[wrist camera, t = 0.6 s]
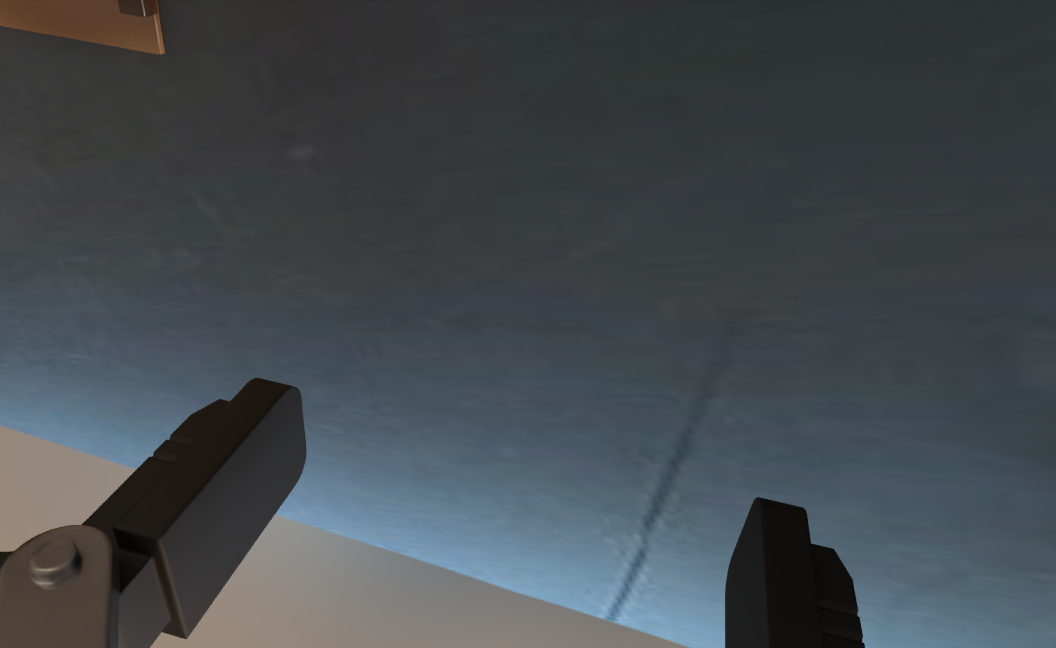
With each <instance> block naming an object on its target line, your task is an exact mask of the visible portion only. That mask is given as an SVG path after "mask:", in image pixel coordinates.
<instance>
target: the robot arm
mask: <svg viewBox="0 0 1056 648" xmlns="http://www.w3.org/2000/svg"><path fill="white" fill-rule="evenodd" d="M305 459H306V440H305V430H304V420H303V410H302V400H301V394H300V391H299V389H298V388H297V387H294V386H290V385H286V384H281V383H277V382H273V381H269V380H264V379H260V378H254V379H252V380H251V381H249V382H248V383H247V384H246V385H245V386H244V387H243V388H242V389H241V390H240V391H239V393H238V394H237V395H236V396H235V397H234V398H233V399H232V400H231V401H226V400H222V399H219V400H217V401H215V402H213V403H212V404H210V405H208V406H206V407H204V408H202V409H201V410H199V411H197V412H195V413H193V414H191V415H190V416H189V417H188V418H187V419H186V420H185V421H184V422H183V423H182V424H181V425H180V426H179V427H178V428H177V429H176V430H175V431H174V432H173V433H172V434H171V437H170V439H169V440H166V441H165V442H164V443H163V444H162V445H161V446H160V447H159V448H158V449H157V450H156V451H155V452H154V455H153V457H149V458H148V459H147V460H146V461H145V462H144V463H143V464H142V465H141V466H140V467H139V468H138V469H137V470H136V471H135V472H134V473H133V474H132V475H131V476H130V477H129V478H128V479H127V480H126V481H125V482H124V483H123V484H122V485H121V486H120V487H119V488H118V489H117V490H116V491H115V492H114V493H113V494H112V495H111V496H110V497H109V498H108V499H107V500H106V501H105V502H104V503H103V504H102V505H101V506H100V507H99V508H98V509H97V510H96V511H95V512H94V513H93V514H92V515H91V516H90V517H89V518H88V519H87V520H86V521H85V522H84V523H83V524H81V525H70V526H64V527H59V528H55V529H52V530H49V531H46V532H44V533H42V534H39V535H37V536H35V537H33V538H31V539H30V540H28V541H27V542H25V543H24V544H22V545H21V546H20V547H19V548H17V549H16V550H15V551H12V552H0V648H150V647H151V645H152V644H153V643H154V641H155V640H156V639H157V637H158V636H159V634H160V633H161V632H164V633H167V634H170V635H174V636H177V637H180V638H184V639H187V638H188V636H189V635H190V634H191V632H192V631H193V629H194V628H195V627H196V625H197V624H198V622H199V621H200V620H201V618H202V617H203V615H204V614H205V612H206V611H207V609H208V608H209V607H210V605H211V604H212V602H213V601H214V600H215V598H216V597H217V595H218V594H219V593H220V591H221V590H222V588H223V587H224V586H225V584H226V582H227V581H228V580H229V578H230V577H231V575H232V574H233V573H234V571H235V570H236V568H237V567H238V566H239V564H240V563H241V561H242V560H243V559H244V557H245V556H246V554H247V553H248V551H249V550H250V549H251V547H252V546H253V544H254V543H255V541H256V540H257V539H258V537H259V536H260V534H261V533H262V532H263V530H264V529H265V527H266V526H267V525H268V523H269V522H270V520H271V519H272V517H273V516H274V515H275V513H276V512H277V510H278V509H279V508H280V506H281V505H282V503H283V502H284V500H285V499H286V498H287V496H288V495H289V493H290V492H291V491H292V489H293V488H294V486H295V485H296V483H297V482H298V480H299V478H300V476H301V473H302V471H303V468H304V464H305ZM857 613H858V607H857V602H856V596H855V591H854V585H853V580H852V578H851V576H850V575H849V573H848V571H847V570H846V568H845V566H844V565H843V563H842V562H841V560H840V558H839V557H838V555H837V553H836V552H835V550H834V549H832V548H827V547H823V546H819V545H815V544H811V541H810V533H809V525H808V518H807V513H806V510H805V509H804V508H802V507H798V506H794V505H789V504H785V503H781V502H777V501H772V500H768V499H764V498H760V497H757V498H756V499H755V500H754V502H753V504H752V506H751V508H750V511H749V514H748V516H747V519H746V521H745V524H744V526H743V529H742V532H741V534H740V537H739V539H738V542H737V544H736V547H735V549H734V552H733V555H732V557H731V561H730V564H729V569H728V574H727V580H726V590H725V648H865V645H864V643H862V637H863V634H862V629H861V623H860V618H859V617H858V616H857Z"/></svg>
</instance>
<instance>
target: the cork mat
mask: <svg viewBox="0 0 1056 648" xmlns="http://www.w3.org/2000/svg"><path fill="white" fill-rule="evenodd" d="M0 26H5V27H11V28H16V29H22V30H27V31H33V32H38V33H44V34H49V35H55V36H60V37H66V38H71V39H77V40H82V41H88V42H93V43H99V44H104V45H110V46H115V47H121V48H126V49H132V50H137V51H143V52H148V53H154V54H159V55H161V54H165V50H164V44H163V37H162V30H161V24H160V17H159V11H158V4H157V0H0Z"/></svg>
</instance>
